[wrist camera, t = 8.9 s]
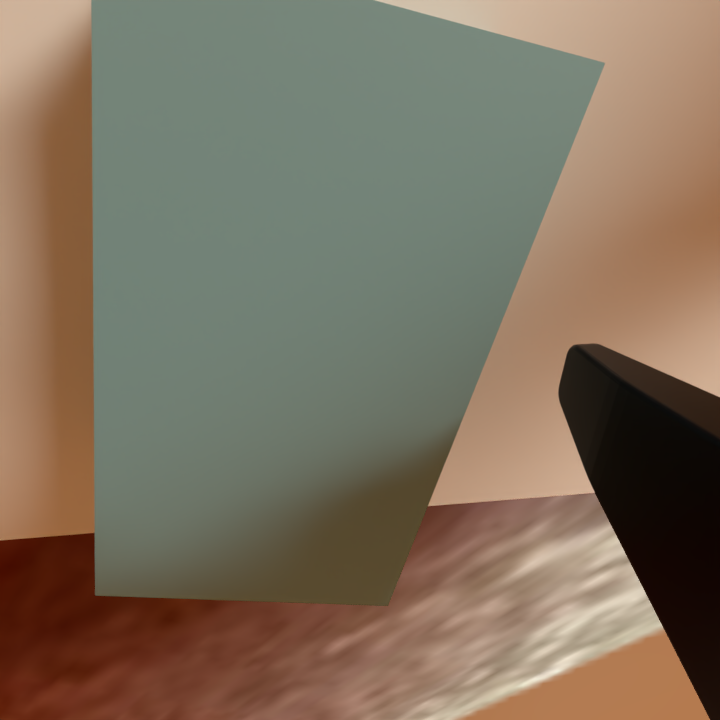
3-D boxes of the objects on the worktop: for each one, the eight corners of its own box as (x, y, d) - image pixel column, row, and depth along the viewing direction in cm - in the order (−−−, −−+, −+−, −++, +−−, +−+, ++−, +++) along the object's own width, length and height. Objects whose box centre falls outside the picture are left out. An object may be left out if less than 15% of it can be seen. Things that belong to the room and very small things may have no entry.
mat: (978, -140, 10) (1009, -146, 10) (703, 471, 18) (713, 483, 17) (-355, -203, 8) (-390, -213, 7) (-10, 526, 15) (-18, 541, 15)
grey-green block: (363, 467, 15) (387, 605, 12) (138, 447, 14) (95, 595, 11) (495, 35, 10) (605, 61, 7) (160, -57, 9) (90, -77, 6)
